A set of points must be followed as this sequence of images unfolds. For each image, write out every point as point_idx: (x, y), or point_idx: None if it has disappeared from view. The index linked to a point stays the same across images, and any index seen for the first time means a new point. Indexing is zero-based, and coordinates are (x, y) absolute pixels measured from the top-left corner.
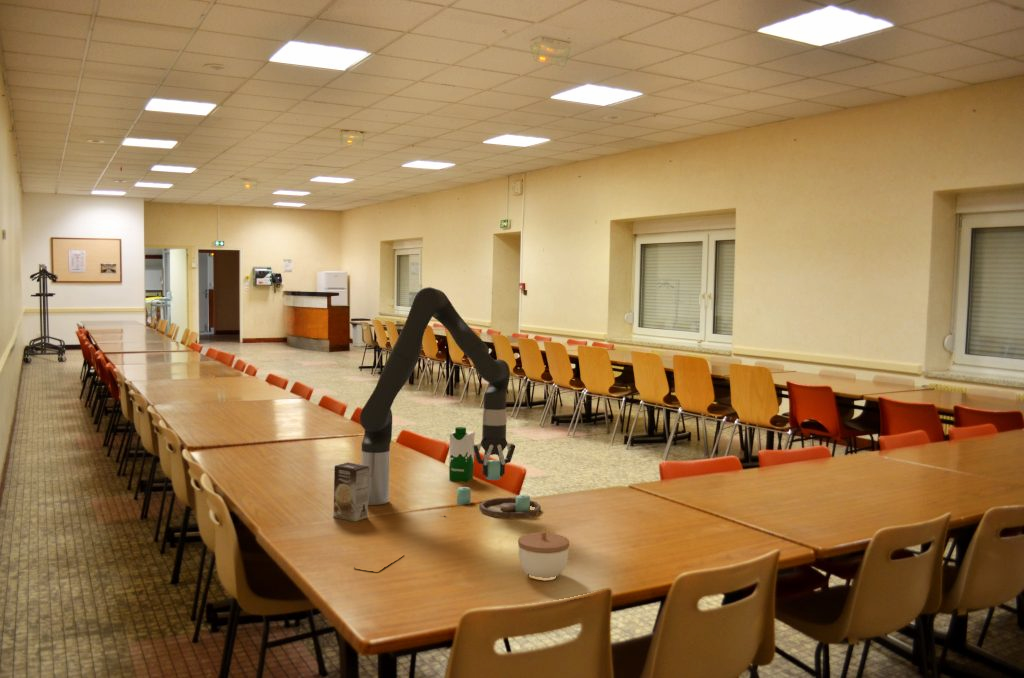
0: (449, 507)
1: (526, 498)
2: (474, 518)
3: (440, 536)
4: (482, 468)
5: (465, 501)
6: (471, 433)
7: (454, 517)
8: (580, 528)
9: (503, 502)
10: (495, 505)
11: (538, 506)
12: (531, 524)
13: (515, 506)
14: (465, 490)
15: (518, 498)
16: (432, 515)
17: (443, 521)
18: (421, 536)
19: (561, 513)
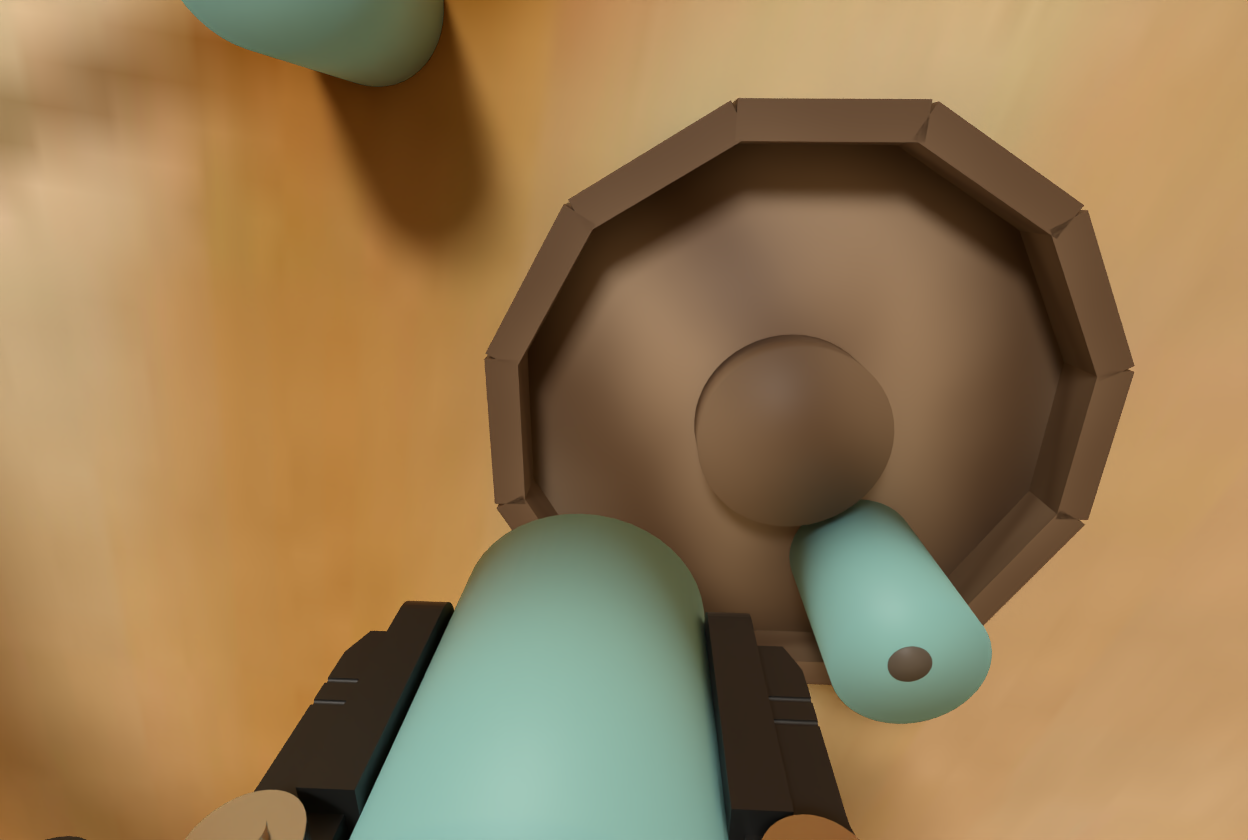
0: (210, 98)
1: (918, 720)
2: (441, 508)
3: (207, 810)
4: (300, 738)
5: (357, 78)
6: None
7: (276, 457)
8: (1125, 823)
9: (810, 144)
10: (691, 226)
11: (1059, 527)
12: (837, 705)
13: (832, 492)
14: (281, 55)
15: (838, 694)
16: (81, 371)
17: (195, 545)
18: (94, 793)
19: (1244, 485)
